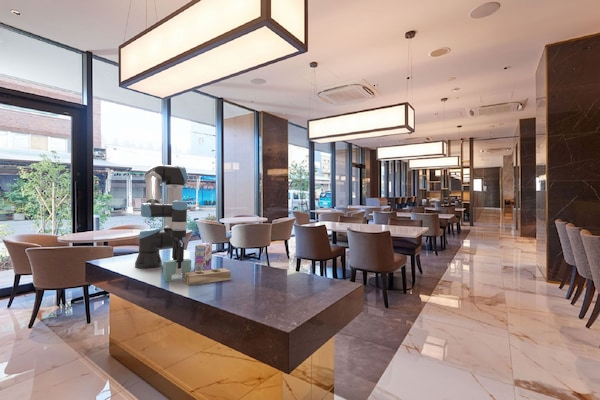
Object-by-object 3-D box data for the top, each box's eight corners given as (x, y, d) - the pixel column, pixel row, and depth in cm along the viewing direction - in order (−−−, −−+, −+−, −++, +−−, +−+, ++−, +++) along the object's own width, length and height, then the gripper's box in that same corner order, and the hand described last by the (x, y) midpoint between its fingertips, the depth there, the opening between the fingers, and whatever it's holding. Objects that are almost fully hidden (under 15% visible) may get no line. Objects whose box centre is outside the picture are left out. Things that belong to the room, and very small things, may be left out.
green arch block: (162, 279, 156) (163, 260, 156) (188, 276, 164) (188, 258, 164) (164, 281, 152) (165, 262, 152) (190, 278, 160) (191, 260, 160)
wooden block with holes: (183, 281, 155) (184, 272, 155) (223, 275, 168) (224, 268, 168) (189, 285, 148) (189, 276, 148) (230, 279, 161) (230, 271, 161)
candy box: (203, 274, 171) (205, 245, 171) (193, 273, 171) (194, 245, 171) (211, 268, 184) (212, 242, 185) (202, 268, 185) (203, 242, 185)
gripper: (167, 228, 163) (165, 270, 163) (176, 231, 149) (174, 277, 149) (181, 227, 168) (179, 269, 167) (191, 231, 153) (189, 276, 153)
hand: (177, 273), depth 158 cm, fingers open, 5 cm apart
